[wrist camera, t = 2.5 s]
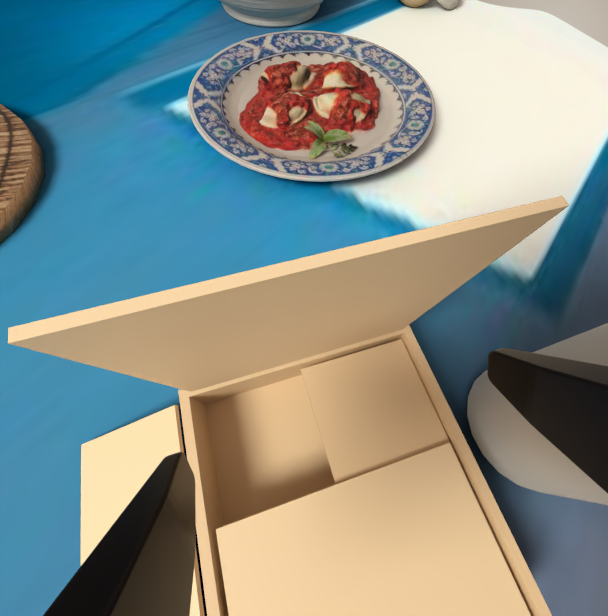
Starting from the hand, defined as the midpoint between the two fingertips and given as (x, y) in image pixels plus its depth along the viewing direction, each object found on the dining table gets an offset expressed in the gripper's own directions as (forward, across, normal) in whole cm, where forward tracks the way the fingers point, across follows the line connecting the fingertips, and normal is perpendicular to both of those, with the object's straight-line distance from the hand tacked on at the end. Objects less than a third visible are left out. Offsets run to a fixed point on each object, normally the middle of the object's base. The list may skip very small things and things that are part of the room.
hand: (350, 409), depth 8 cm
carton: (+6, +3, +11) cm, 13 cm away
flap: (+8, 0, +3) cm, 9 cm away
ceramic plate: (+31, -10, -14) cm, 35 cm away
